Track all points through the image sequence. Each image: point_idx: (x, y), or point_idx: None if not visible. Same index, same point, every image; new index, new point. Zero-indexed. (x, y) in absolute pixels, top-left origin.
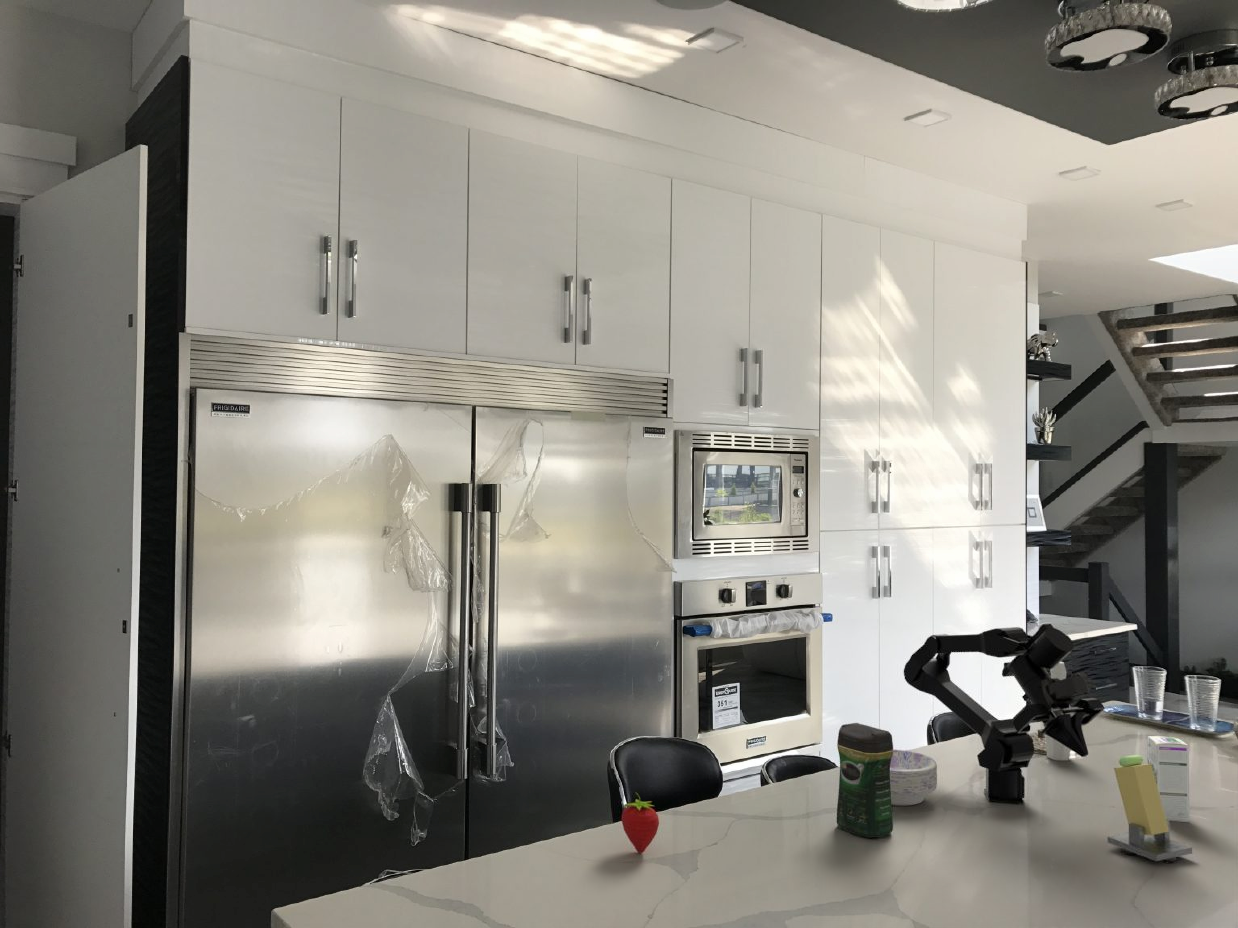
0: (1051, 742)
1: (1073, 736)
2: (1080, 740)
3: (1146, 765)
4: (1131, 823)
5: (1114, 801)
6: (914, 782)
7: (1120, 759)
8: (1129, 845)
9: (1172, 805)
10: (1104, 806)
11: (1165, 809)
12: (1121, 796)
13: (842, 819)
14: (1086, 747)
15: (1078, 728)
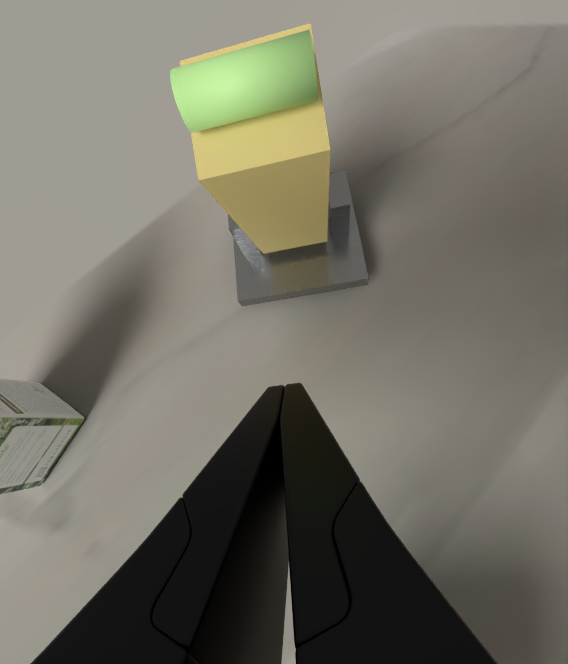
0: None
1: (357, 484)
2: (265, 462)
3: (217, 55)
4: (340, 205)
5: (48, 587)
6: None
7: (313, 70)
8: (357, 225)
9: (31, 397)
10: (113, 559)
11: (52, 408)
12: (327, 206)
13: None
14: (253, 411)
15: (165, 597)
